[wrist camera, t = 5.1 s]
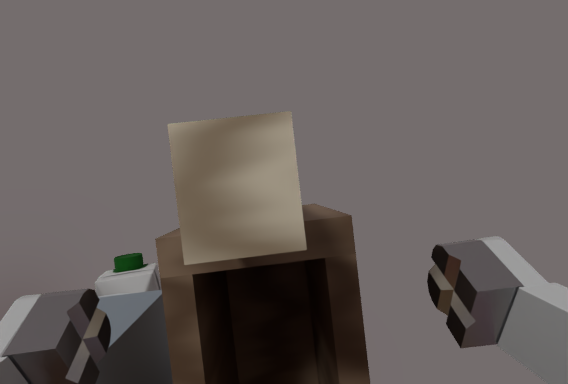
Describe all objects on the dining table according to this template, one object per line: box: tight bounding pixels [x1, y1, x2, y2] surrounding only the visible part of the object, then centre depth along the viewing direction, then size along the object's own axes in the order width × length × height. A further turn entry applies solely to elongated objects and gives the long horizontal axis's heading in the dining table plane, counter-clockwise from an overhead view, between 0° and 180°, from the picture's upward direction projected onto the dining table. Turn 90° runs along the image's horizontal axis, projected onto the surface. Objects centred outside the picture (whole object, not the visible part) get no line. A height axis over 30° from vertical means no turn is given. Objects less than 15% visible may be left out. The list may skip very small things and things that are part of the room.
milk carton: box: [95, 253, 162, 297], centre depth 53 cm, size 9×9×20 cm
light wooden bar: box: [168, 111, 307, 265], centre depth 20 cm, size 4×20×4 cm, turn 3°
